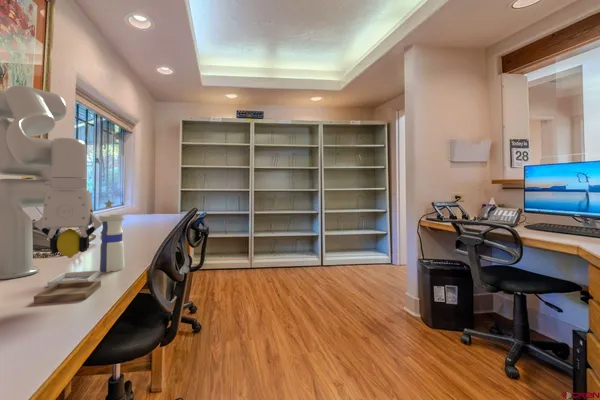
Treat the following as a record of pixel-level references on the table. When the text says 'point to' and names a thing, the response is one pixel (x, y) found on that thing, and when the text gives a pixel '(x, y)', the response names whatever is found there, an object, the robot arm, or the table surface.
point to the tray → (67, 291)
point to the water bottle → (111, 242)
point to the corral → (72, 274)
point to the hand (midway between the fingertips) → (70, 251)
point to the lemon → (69, 243)
